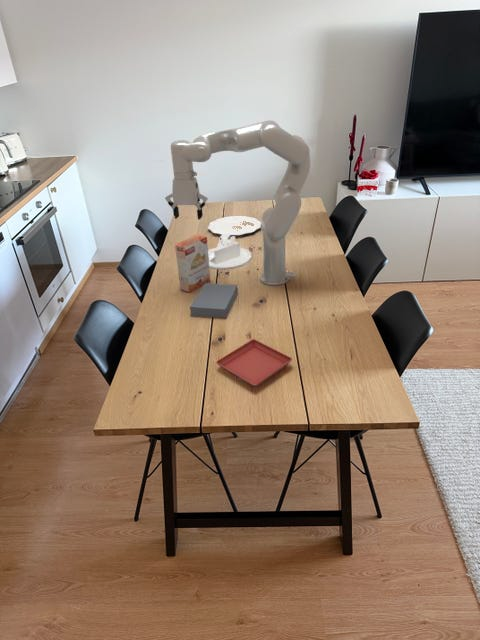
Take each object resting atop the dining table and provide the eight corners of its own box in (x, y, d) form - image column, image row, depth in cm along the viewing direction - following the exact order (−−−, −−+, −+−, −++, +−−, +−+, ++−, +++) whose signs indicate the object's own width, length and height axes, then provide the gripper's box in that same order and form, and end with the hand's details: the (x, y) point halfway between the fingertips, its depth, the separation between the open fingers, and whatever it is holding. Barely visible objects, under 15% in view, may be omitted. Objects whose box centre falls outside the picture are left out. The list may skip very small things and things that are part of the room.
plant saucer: (215, 369, 155) (214, 361, 153) (253, 345, 165) (253, 337, 163) (255, 394, 143) (254, 385, 142) (293, 366, 154) (293, 358, 152)
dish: (218, 245, 243) (216, 224, 237) (260, 253, 231) (260, 232, 225) (190, 264, 225) (187, 242, 219) (234, 274, 214) (233, 251, 208)
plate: (200, 226, 268) (200, 221, 267) (247, 216, 278) (247, 212, 277) (220, 243, 245) (220, 238, 244) (270, 232, 255) (270, 227, 254)
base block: (237, 293, 197) (237, 285, 195) (225, 318, 181) (225, 309, 179) (205, 291, 200) (204, 283, 198) (191, 315, 184) (190, 306, 182)
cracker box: (190, 293, 199) (184, 247, 188) (179, 289, 203) (173, 244, 192) (211, 280, 209) (207, 236, 198) (201, 277, 212) (196, 233, 201)
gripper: (208, 172, 182) (211, 215, 191) (166, 172, 186) (171, 214, 195) (202, 178, 176) (206, 222, 185) (159, 177, 180) (164, 220, 189)
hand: (188, 218), depth 190 cm, fingers open, 9 cm apart
